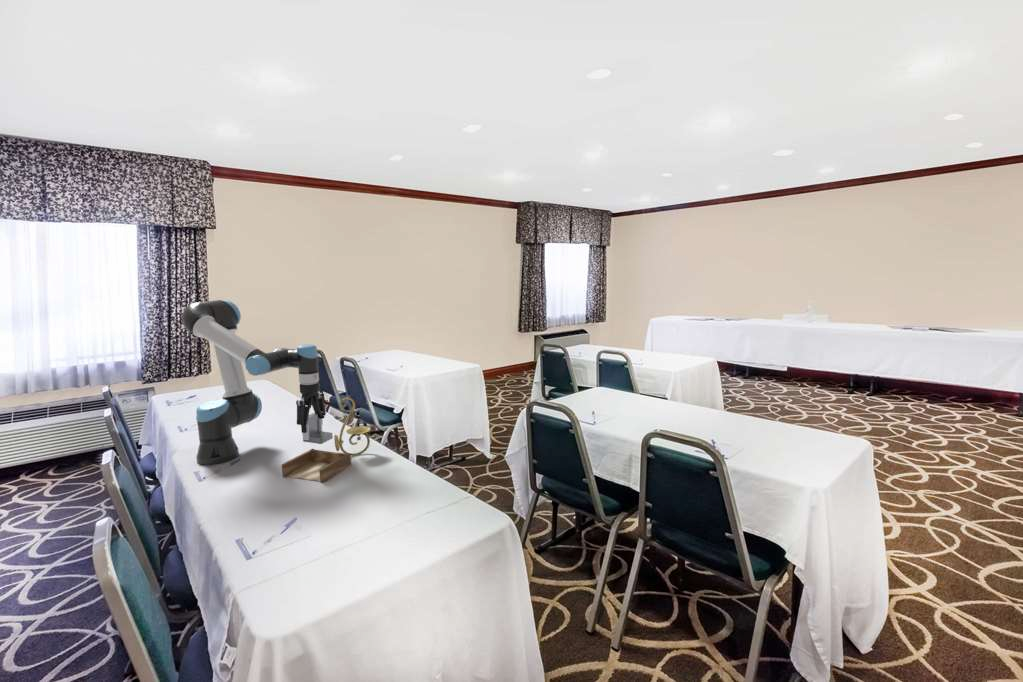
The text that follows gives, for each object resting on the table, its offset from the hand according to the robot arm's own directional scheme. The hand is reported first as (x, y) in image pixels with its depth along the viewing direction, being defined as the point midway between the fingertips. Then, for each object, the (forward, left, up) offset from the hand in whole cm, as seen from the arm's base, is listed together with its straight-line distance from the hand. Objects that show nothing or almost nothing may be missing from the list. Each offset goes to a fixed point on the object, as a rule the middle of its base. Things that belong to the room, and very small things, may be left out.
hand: (312, 436), depth 207 cm
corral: (+13, -14, -8) cm, 21 cm away
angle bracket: (+3, 0, -1) cm, 3 cm away
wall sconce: (+17, +4, -8) cm, 19 cm away
